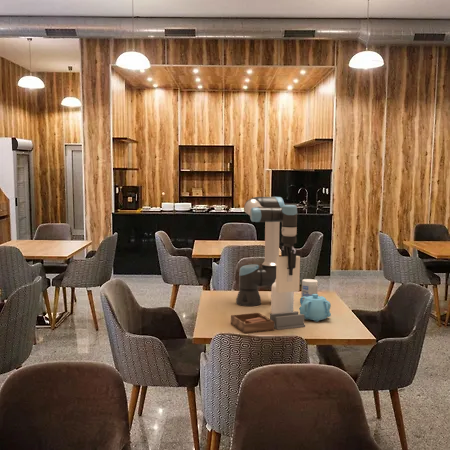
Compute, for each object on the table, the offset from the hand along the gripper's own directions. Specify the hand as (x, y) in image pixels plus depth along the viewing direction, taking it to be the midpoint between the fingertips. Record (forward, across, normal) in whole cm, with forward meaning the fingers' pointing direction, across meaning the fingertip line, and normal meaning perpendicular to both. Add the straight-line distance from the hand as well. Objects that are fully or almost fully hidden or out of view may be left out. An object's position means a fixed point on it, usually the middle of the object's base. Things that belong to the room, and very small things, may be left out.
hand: (287, 280), depth 268 cm
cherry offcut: (+21, -1, -18) cm, 27 cm away
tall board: (+6, 0, 0) cm, 6 cm away
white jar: (+24, -22, +9) cm, 34 cm away
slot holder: (+24, 0, 0) cm, 24 cm away
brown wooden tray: (+24, -4, -18) cm, 30 cm away
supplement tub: (+24, -36, +35) cm, 56 cm away
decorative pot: (+24, -7, +21) cm, 33 cm away
